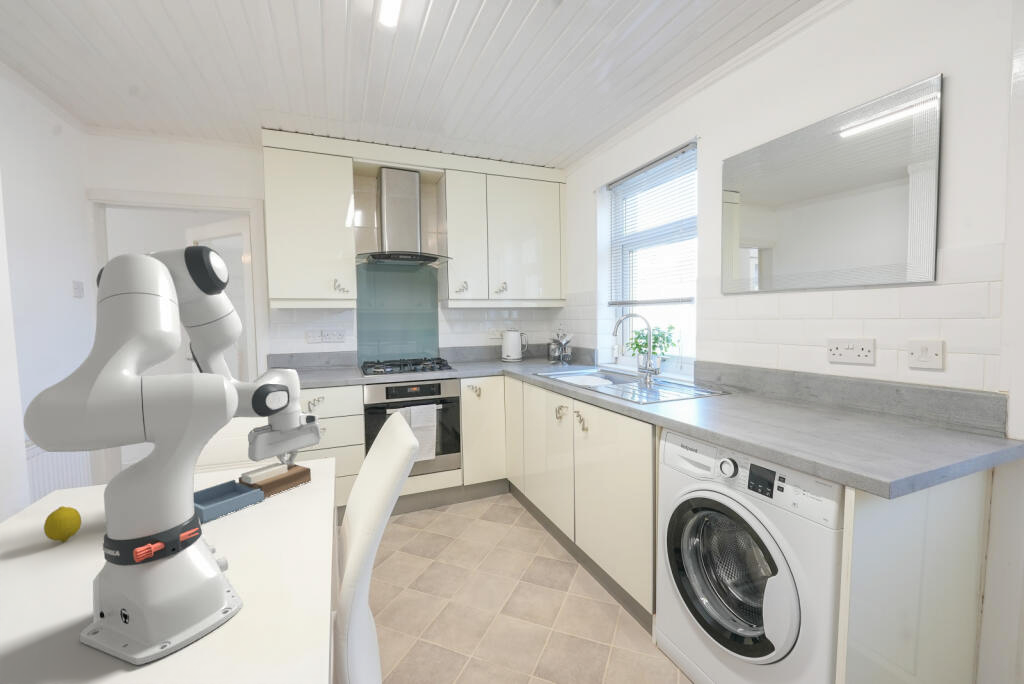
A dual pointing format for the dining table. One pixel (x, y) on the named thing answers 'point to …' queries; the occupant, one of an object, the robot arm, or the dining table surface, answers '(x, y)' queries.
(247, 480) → the tile front
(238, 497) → the box
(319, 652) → the dining table surface
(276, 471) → the tile rear
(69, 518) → the lemon
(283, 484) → the flat wooden block
